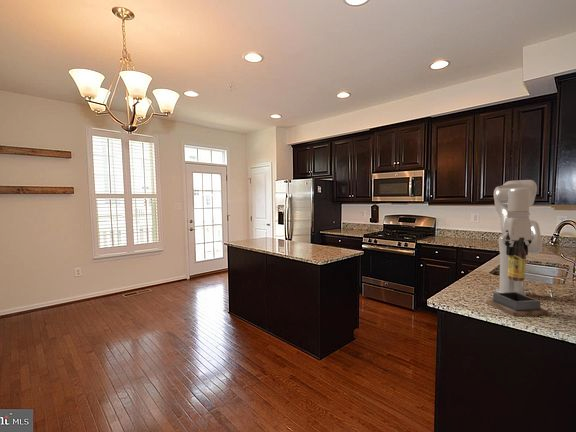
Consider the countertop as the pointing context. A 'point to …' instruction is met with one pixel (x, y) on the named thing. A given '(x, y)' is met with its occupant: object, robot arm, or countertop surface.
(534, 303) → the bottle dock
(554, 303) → the countertop surface
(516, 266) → the sauce bottle
